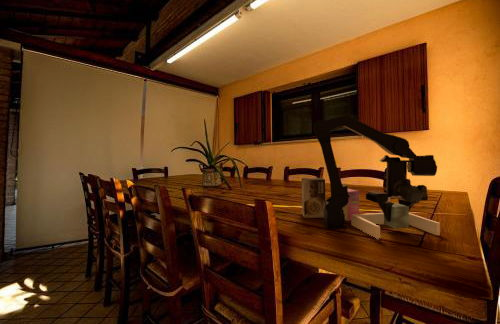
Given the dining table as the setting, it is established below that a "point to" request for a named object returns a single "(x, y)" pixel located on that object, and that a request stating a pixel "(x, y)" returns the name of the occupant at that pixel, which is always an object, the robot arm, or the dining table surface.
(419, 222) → the wooden frame
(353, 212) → the box
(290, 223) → the dining table surface
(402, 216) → the block
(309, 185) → the coffee box
